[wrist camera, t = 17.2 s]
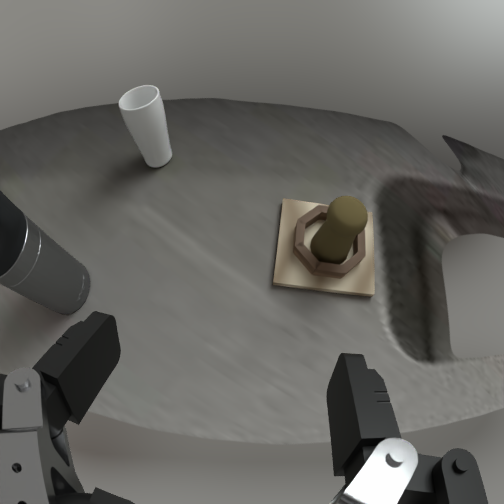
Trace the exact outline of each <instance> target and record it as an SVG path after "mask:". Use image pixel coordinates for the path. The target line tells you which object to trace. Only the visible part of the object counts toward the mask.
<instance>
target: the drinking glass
mask: <svg viewBox="0 0 504 504" xmlns="http://www.w3.org/2000/svg"><path fill="white" fill-rule="evenodd" d="M119 108H120V111H121V114H122V117H123V120H124V122H125V124H126V126H127V128H128V130H129V132H130V134H131V136H132V137H133V139H134V141H135V143H136V145H137V146H138V148H139V150H140V152H141V154H142V156H143V158H144V160H145V162H146V164H147V165H149V166H150V167H161V166H163V165H165V164H167V163H168V162H169V161H170V159H171V157H172V150H171V146H170V141H169V136H168V129H167V123H166V116H165V110H164V106H163V102H162V99H161V95H160V92H159V90H158V88H157V87H155V86H152V85H143V86H139V87H136V88H133V89H132V90H130V91H128V92H127V93H125V94H124V95H123V96H122V97H121V99H120V101H119Z"/></svg>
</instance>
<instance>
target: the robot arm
mask: <svg viewBox="0 0 504 504" xmlns="http://www.w3.org/2000/svg"><path fill="white" fill-rule="evenodd" d="M0 284H2V285H3V286H5V287H7V288H9V289H11V290H13V291H15V292H17V293H19V294H21V295H23V296H25V297H27V298H29V299H31V300H33V301H35V302H37V303H39V304H41V305H43V306H45V307H47V308H49V309H51V310H53V311H56V312H58V313H61V314H70V313H73V312H75V311H76V310H78V309H79V308H80V307H81V306H82V305H83V303H84V302H85V300H86V298H87V296H88V293H89V288H90V278H89V274H88V271H87V270H86V268H85V267H84V266H83V265H82V264H81V263H80V262H79V261H77V260H76V259H75V258H74V257H73V256H71V255H70V254H69V253H68V252H67V251H65V250H64V249H63V248H62V247H61V246H60V245H58V244H57V243H56V242H55V241H54V240H53V239H51V238H50V237H49V236H48V235H47V234H46V233H45V232H44V231H42V230H41V229H40V228H39V227H38V226H37V225H36V224H35V223H33V222H32V221H31V220H30V219H29V218H28V217H27V216H26V215H25V214H24V213H23V212H22V211H21V210H20V209H18V208H17V207H16V206H15V205H14V204H13V203H12V202H11V201H10V200H9V199H8V198H7V197H6V196H5V195H4V194H3V193H2V192H1V191H0ZM120 352H121V349H120V343H119V337H118V332H117V326H116V320H115V318H114V316H112V315H108V314H104V313H100V312H97V311H95V312H93V313H92V314H91V315H90V316H89V317H88V318H87V319H86V320H85V321H84V322H83V321H80V322H78V323H77V324H75V325H73V326H71V327H70V328H69V329H68V330H67V331H66V332H65V333H64V334H63V335H62V337H60V338H59V339H58V340H57V341H56V344H54V345H53V346H52V347H51V348H50V349H49V350H48V351H47V352H46V353H45V354H44V355H43V357H42V358H41V359H40V360H39V361H38V362H37V363H36V364H35V366H34V367H33V368H32V369H31V368H27V367H22V368H18V369H15V370H13V371H12V372H11V373H9V374H8V375H4V374H0V504H134V503H133V502H131V501H129V500H126V499H123V498H121V497H118V496H116V495H113V494H111V493H108V492H106V491H103V490H101V489H99V488H95V490H94V492H93V494H90V493H85V492H84V489H83V487H82V485H81V483H80V481H79V479H78V477H77V475H76V472H75V469H74V465H73V461H72V456H71V452H70V448H69V442H68V437H67V431H66V428H65V426H64V425H65V424H66V422H67V421H68V420H69V421H72V422H74V423H76V424H78V425H79V424H80V422H81V420H82V419H83V417H84V415H85V414H86V412H87V411H88V409H89V407H90V406H91V404H92V403H93V401H94V399H95V398H96V396H97V395H98V393H99V391H100V390H101V388H102V387H103V385H104V384H105V382H106V380H107V379H108V377H109V376H110V374H111V373H112V371H113V370H114V368H115V366H116V365H117V363H118V361H119V358H120ZM327 407H328V416H329V426H330V436H331V445H332V457H333V470H334V476H345V483H346V484H345V485H344V486H343V487H342V489H341V490H340V491H339V492H338V494H337V495H336V496H335V497H334V499H333V500H332V501H331V502H330V503H329V504H488V501H487V497H486V493H485V489H484V486H483V482H482V479H481V475H480V472H479V468H478V465H477V462H476V460H475V458H474V457H473V455H472V454H471V453H470V452H468V451H467V450H464V449H459V448H457V449H452V450H450V451H448V452H447V453H446V454H445V455H444V456H443V457H442V458H440V457H434V456H427V455H421V454H418V453H417V452H416V450H415V448H414V447H413V446H412V445H411V444H410V443H409V442H407V441H405V440H403V439H402V438H401V435H400V432H399V428H398V425H397V421H396V418H395V415H394V411H393V408H392V405H391V403H390V398H389V395H388V393H387V389H386V386H385V383H384V380H383V379H382V377H381V376H380V375H379V374H378V373H377V371H376V370H375V369H368V368H367V365H366V362H365V359H364V356H363V355H362V354H349V353H341V354H340V356H339V358H338V361H337V363H336V366H335V369H334V371H333V374H332V377H331V379H330V382H329V385H328V389H327Z"/></svg>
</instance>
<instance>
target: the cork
mask: <svg viewBox="0 0 504 504" xmlns="http://www.w3.org/2000/svg"><path fill="white" fill-rule="evenodd" d="M367 221H368V214H367V210H366V208H365V206H364V205H363V203H362V202H361V201H359V200H358V199H356V198H354V197H351V196H341V197H338V198H336V199H335V200H334V201H333V202H331V203H330V205H329V207H328V210H327V219H326V221H325V222H324V223H323V224H322V226H321V227H320V228H319V230H318V231H317V232H316V233H315V235H314V236H313V238H312V240H311V244H310V248H311V253H312V254H313V255H314V256H315V257H316V259H317V260H318V261H319V262H324V263H332V264H339V265H340V264H342V263H343V262H344V261H345V260H346V258H347V256H348V254H349V251H350V249H351V246H352V244H353V241H354V239H355V236H356V235H358V234H360V233H361V232H362V231H363V230H364V229H365V227H366V224H367Z"/></svg>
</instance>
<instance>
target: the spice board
mask: <svg viewBox="0 0 504 504" xmlns="http://www.w3.org/2000/svg"><path fill="white" fill-rule="evenodd" d="M328 207H329V205H324V204H318V203H311V202H305V201H298V200H291V199H284V198H283V202H282V211H281V220H280V229H279V237H278V246H277V254H276V262H275V270H274V278H273V285H278V286H285V287H293V288H301V289H309V290H317V291H325V292H333V293H342V294H351V295H359V296H368V297H372V296H373V295H374V238H373V218H372V212H367V214H368V221H367V224H366V227H365V229H364V230H363V231H362V232H361V233H360V234H358V235H356V236H355V239H354V241H353V244H352V246H351V249H350V251H349V254H348V256H347V258H346V260H345V261H344V262H343V263H342V264H340V265H339V264H332V263H324V262H319V261H318V260H317V259H316V257H315V256H314V255H313V254H312V253H311V248H310V244H311V240H312V238H313V236H314V235H315V233H316V232H317V231H318V230H319V228H320V227H321V226H322V224H323V223H324V222H325V221H326V219H327V210H328Z"/></svg>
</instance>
